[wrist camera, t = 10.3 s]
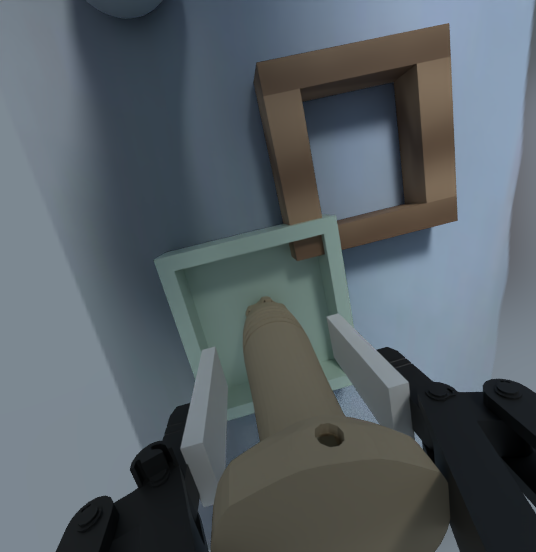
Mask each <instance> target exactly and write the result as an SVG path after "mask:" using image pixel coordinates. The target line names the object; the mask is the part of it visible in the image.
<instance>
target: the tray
mask: <svg viewBox="0 0 536 552" xmlns="http://www.w3.org/2000/svg"><path fill="white" fill-rule="evenodd" d="M317 235H322V241H323V246H324V252H325V254H324V255H320V256H316V257H312V258H308V259H304V260H300V261H296V260H295V259H294V258H293V257H292V256H291V251H290V247H289V242H293V241H297V240H301V239H305V238H309V237H313V236H317ZM154 263H155V266H156V269H157V272H158V275H159V278H160V280H161V283H162V286H163V289H164V292H165V295H166V298H167V300H168V303H169V306H170V309H171V312H172V315H173V318H174V320H175V323H176V326H177V329H178V332H179V335H180V338H181V340H182V343H183V346H184V349H185V352H186V355H187V358H188V361H189V363H190V366H191V369H192V372H193V375H194V378H195V380H196V376H197V371H198V367H199V362H200V358H201V353H202V350H204V349H207V348H211V347H216V350H217V353H218V356H219V360H220V363H221V366H222V369H223V372H224V375H225V379H226V382H227V385H228V401H227V421H229V420H233V419H236V418H240V417H243V416H247V415H250V414H253V413H255V411H254V405H253V400H252V395H251V390H250V386H249V381H248V376H247V371H246V367H245V362H244V355H243V329H244V324H245V320H246V316H245V314H246V310H247V308H248V306H250V305H254V304H255V303H257V302H258V301H259V300H260V299H261V297H264V296H268V297H270V298H271V299H272V300H273V301H274V302H277V303H282V304H284V305H285V306H286V308H287V309H288V310H289V311H290V312H291V313H292V314H293V316H294V317H295V318H296V319H297V320H298V322H299V323H300V325H301V326H302V328H303V329H304V331H305V333H306V334H307V336H308V338H309V340H310V342H311V345H312V347H313V349H314V351H315V354H316V356H317V358H318V360H319V363H320V365H321V367H322V369H323V372H324V374H325V376H326V378H327V380H328V382H329V384H330V386H331V389H332V391H333V390H337V389H340V388H344V387H347V386H351V385H353V384H352V383H351V381H350V380H349V378H348V377H347V375H346V374H345V373H344V371H343V370H342V368H341V367H340V365H339V364H338V362H337V361H336V359H335V358H334V355H333V350H332V344H331V339H330V334H329V328H328V323H327V318H326V316H330V315H334V314H337V313H339V314H340V315H341V316H342V317H343V318H344V319H345V320H346V321H347V322H348V323H349V324H350V325H351V326H352V327H353V328H354V325H353V319H352V312H351V306H350V300H349V294H348V287H347V281H346V275H345V268H344V262H343V256H342V250H341V243H340V237H339V231H338V224H337V218H336V215H323V214H322V218H319V219H315V220H310V221H306V222H302V223H298V224H294V225H286V224H280V225H276V226H272V227H268V228H263V229H259V230H255V231H251V232H247V233H243V234H239V235H235V236H231V237H227V238H223V239H218V240H214V241H210V242H206V243H202V244H198V245H194V246H190V247H186V248H182V249H178V250H173V251H169V252H165V253H164V254H162V255H161V256H159V257H157V258H156V259H154Z"/></svg>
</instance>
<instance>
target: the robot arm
mask: <svg viewBox="0 0 536 552" xmlns="http://www.w3.org/2000/svg"><path fill="white" fill-rule="evenodd" d="M326 318H327V323H328V328H329V334H330V339H331V344H332V350H333V355H334V358H335V359H336V361H337V362H338V364H339V365H340V367H341V368H342V370H343V371H344V373H345V374H346V375H347V377H348V378H349V380H350V381H351V383H352V384H353V386H354V387H355V389H356V390H357V392H358V393H359V395H360V396H361V398H362V399H363V400H364V402H365V403H366V405H367V406H368V408H369V409H370V411H371V412H372V414H373V415H374V417H375V418H376V420H377V421H378V422H379V424H380V425H382V426H385V427H388V428H390V429H393V430H396V431H398V432H401V433H403V434H406V435H408V436H410V437H412V438H413V439H414V440H415V437H414V431H415V433H416V434H417V435H418V436H419V438H420V439H421V440H422V445H423V450H424V452H425V453H426V454H427V455H428V457H429V458H430V459H431V460H432V462H433V463H434V464H435V465H436V467H437V468H438V469H439V471H440V472H441V473H442V475H443V476H444V477H445V479H446V480H447V482H448V489H449V505H450V522H449V523H450V526H451V528H452V531H453V534H454V537H455V539H456V542H457V545H458V547H459V550H460V552H536V514H535V512H534V510H533V509H532V507H531V505H530V504H529V502H528V501H527V499H526V498H525V496H526V497H527V498H528V499H529V500H530V501H531V502H532V504H533V505H534V506H535V507H536V393H535V392H533V391H532V390H530V389H529V388H527V387H525V386H523V385H522V384H520V383H517V382H514V381H511V380H506V379H491V380H488V381H486V382H485V383H484V385H483V392H457V391H456V390H455V389H454V388H453V387H451V386H449V385H447V384H444V383H440V382H433V381H432V380H431V379H429V378H428V377H427V376H426V375H425V374H424V373H422V372H421V371H420V370H419V369H418V368H417V367H415V366H414V365H413V364H411V362H410V361H409V360H407V359H405V357H404V356H403V355H402V354H400V353H399V352H398V351H396V350H394V349H391V348H389V347H385V348H381V349H378V350H375V349H374V348H373V347H372V346H371V345H370V344H369V343H368V342H367V341H366V340H365V339H364V338H363V337H362V336H361V335H360V334H359V333H358V332H357V331H356V330H355V329H354V328H353V327H352V326H351V325H350V324H349V323H348V322H347V321H346V320H345V319H344V318H343V317H342V316H341V315H340V314H339V313H337V314H334V315H330V316H326ZM227 401H228V385H227V382H226V379H225V375H224V372H223V369H222V366H221V363H220V360H219V356H218V353H217V350H216V347H211V348H207V349H204V350H202V353H201V358H200V362H199V367H198V371H197V376H196V380H195V385H194V389H193V394H192V398H191V403H188V404H185V405H181V406H178V407H176V409H175V410H174V411H173V413H172V414H171V416H170V418H169V421H168V424H167V428H166V431H165V436H164V437H163V441H157V442H154V443H152V444H150V445H148V446H147V447H145V448H144V449H142V450H141V451H140V452H139V454H137V455H136V457H135V459H134V460H133V462H132V464H131V468H130V471H131V473H132V475H133V477H134V479H135V482H136V484H137V486H138V488H137V489H136V490H135V491H133V492H132V493H130V494H128V495H127V496H125V497H123V498H122V499H120V500H118V501H116V502H115V503H113V501H112V499H111V497H108V496H101V497H97V498H95V499H93V500H92V501H90V502H88V503H87V504H86V505H85V506H83V507H82V508H81V509H80V510H79V511H78V512H77V513H76V514H75V516H74V517H73V518H72V520H71V521H70V523H69V524H68V526H67V528H66V530H65V532H64V535H63V537H62V539H61V541H60V544H59V546H58V548H57V550H56V552H209V551H208V547H207V542H206V538H205V534H204V529H203V525H202V521H201V518H200V515H199V513H198V505H199V497H200V500H201V502H202V505H203V507H204V508H205V507H208V506H211V505H214V499H215V494H216V490H217V485H218V482H219V480H220V478H221V476H222V474H223V472H224V470H225V465H226V433H227ZM524 495H525V496H524Z"/></svg>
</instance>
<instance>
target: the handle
mask: <svg viewBox="0 0 536 552" xmlns="http://www.w3.org/2000/svg"><path fill="white" fill-rule="evenodd" d="M245 316H246V320H245V324H244V329H243V355H244V362H245V367H246V371H247V376H248V381H249V386H250V390H251V395H252V400H253V405H254V411H255V416H256V422H257V428H258V433H259V439H260V442H259V443H258V444H256V445H255V446H253V447H251V448H250V449H248V450H247V451H245V452H244V453H242V454H241V455H239V456H238V457H237V458H235V459H234V460H232V461H231V462H230V463H229V465H228V466H227V468H226V469H225V470H224V472H223V474H222V476H221V478H220V480H219V482H218V485H217V490H216V494H215V499H214V505H213V517H212V532H211V552H435V551H436V549H437V548H438V547H439V545H440V544H441V542H442V540H443V538H444V536H445V534H446V532H447V529H448V525H449V522H450V505H449V489H448V482H447V480H446V479H445V477H444V476H443V475H442V473H441V472H440V471H439V469H438V468H437V467H436V465H435V464H434V463H433V462H432V460H431V459H430V458H429V457H428V455H427V454H426V453H425V452H424V450H423V449H422V448H421V447H420V446H419V444H418V443H417V442H416V441H415V440H414V439H413V438H412V437H410V436H408V435H406V434H403V433H401V432H398V431H396V430H393V429H390V428H388V427H385V426H382V425H379V424H375V423H372V422H368V421H364V420H360V419H356V418H351V417H346V416H345V415H344V413H343V412H342V409H341V407H340V405H339V403H338V401H337V399H336V397H335V395H334V393H333V391H332V389H331V386H330V384H329V382H328V380H327V378H326V376H325V374H324V372H323V369H322V367H321V365H320V363H319V360H318V358H317V356H316V354H315V351H314V349H313V347H312V345H311V342H310V340H309V338H308V336H307V334H306V333H305V331H304V329H303V328H302V326H301V325H300V323H299V322H298V320H297V319H296V318H295V317H294V316H293V314H292V313H291V312H290V311H289V310H288V309H287V308H286V306H285V305H284V304H282V303H277V302H274V301H273V300H272V299H271V298H270V297H268V296H264V297H261V299H260V300H259V301H258V302H257V303H255V304H254V305H250V306H248V308H247V310H246V314H245Z"/></svg>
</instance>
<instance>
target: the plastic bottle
mask: <svg viewBox="0 0 536 552" xmlns="http://www.w3.org/2000/svg"><path fill="white" fill-rule="evenodd" d="M86 1H87V2H88V3H89V4H90V5H92V6H93V7H95V8H96V9H98V10H99V11H101V12H103V13H105V14H108V15H110V16H113V17H118V18H136V17H140V16H144V15H146V14H147V13H149V12H151V11H153V10H154V9H155V8H156V7H157V6H158V5H159V4H160V3H161V2H162V0H86Z"/></svg>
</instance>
